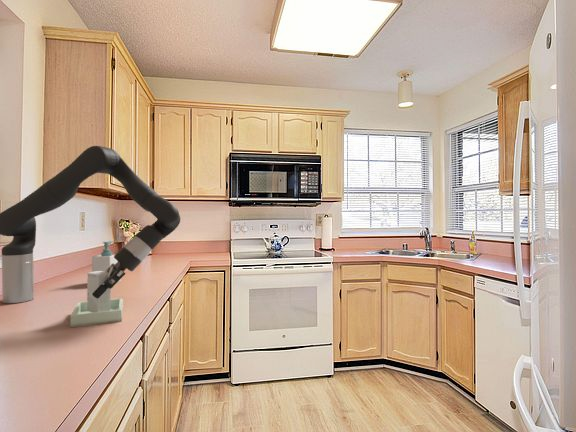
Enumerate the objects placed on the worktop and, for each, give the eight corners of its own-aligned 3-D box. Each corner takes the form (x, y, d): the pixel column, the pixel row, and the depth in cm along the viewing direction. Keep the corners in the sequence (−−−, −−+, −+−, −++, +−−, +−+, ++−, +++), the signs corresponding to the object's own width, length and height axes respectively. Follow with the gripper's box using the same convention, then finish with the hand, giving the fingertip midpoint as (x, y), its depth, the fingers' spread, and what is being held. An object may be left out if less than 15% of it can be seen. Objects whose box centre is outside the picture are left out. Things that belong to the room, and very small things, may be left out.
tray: (78, 312, 113) (78, 302, 113) (122, 307, 119) (122, 298, 119) (70, 327, 99) (70, 315, 99) (121, 321, 104) (121, 310, 104)
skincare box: (86, 311, 108) (85, 272, 108) (100, 308, 112) (99, 270, 112) (98, 314, 105) (97, 274, 105) (112, 310, 109) (111, 271, 109)
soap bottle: (121, 281, 165) (120, 240, 165) (110, 285, 156) (109, 242, 156) (104, 281, 166) (103, 240, 166) (92, 284, 157) (91, 242, 157)
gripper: (120, 244, 119) (81, 282, 112) (128, 247, 107) (85, 291, 100) (137, 258, 122) (100, 296, 115) (147, 263, 110) (106, 306, 103)
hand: (93, 294), depth 108 cm, fingers closed on skincare box, 7 cm apart
